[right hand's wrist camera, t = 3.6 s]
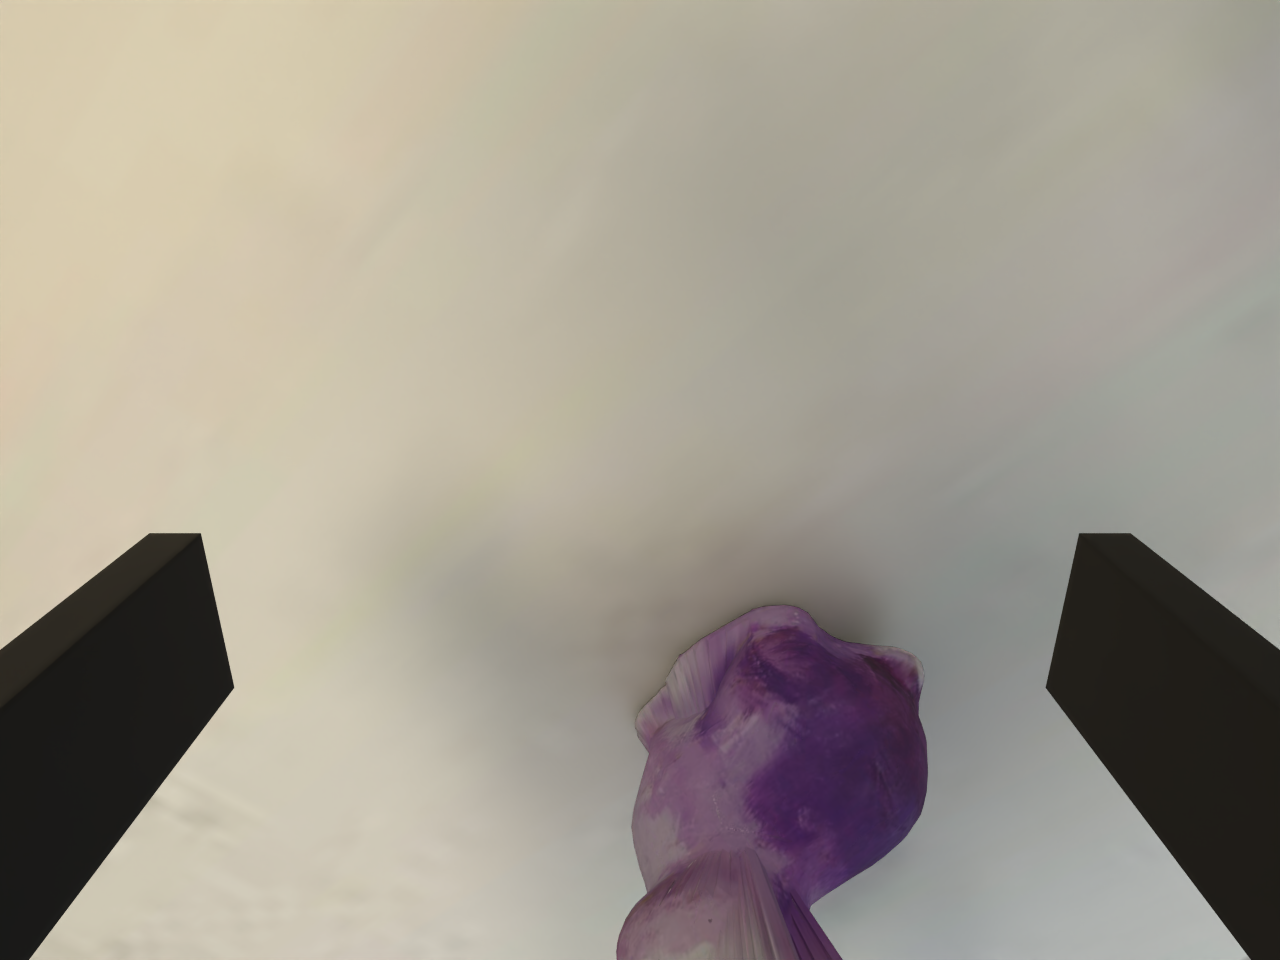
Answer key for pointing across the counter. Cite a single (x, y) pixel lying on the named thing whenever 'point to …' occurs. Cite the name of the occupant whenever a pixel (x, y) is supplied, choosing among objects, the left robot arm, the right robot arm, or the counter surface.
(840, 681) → the figurine
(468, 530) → the counter surface
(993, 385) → the counter surface
